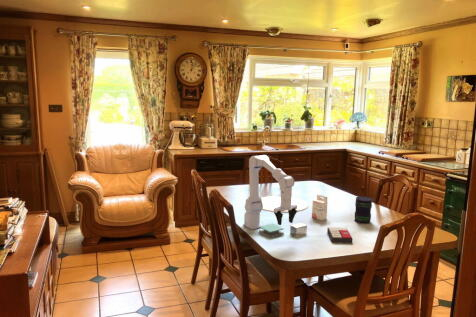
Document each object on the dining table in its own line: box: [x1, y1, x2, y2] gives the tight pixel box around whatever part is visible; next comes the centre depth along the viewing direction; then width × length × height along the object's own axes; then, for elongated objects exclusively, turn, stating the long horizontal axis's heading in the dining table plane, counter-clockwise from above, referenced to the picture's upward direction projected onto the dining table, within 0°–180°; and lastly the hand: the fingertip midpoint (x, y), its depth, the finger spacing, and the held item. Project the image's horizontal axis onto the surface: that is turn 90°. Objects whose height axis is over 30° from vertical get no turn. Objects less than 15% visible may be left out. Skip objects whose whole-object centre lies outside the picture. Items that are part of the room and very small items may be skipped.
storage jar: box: [353, 196, 373, 225], centre depth 244 cm, size 10×10×15 cm
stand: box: [258, 223, 285, 238], centre depth 221 cm, size 10×10×4 cm
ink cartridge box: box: [311, 194, 328, 221], centre depth 249 cm, size 9×5×15 cm, turn 44°
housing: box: [289, 222, 308, 237], centre depth 221 cm, size 5×10×5 cm, turn 124°
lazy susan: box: [260, 195, 309, 214], centre depth 280 cm, size 40×39×3 cm
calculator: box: [326, 226, 353, 244], centre depth 216 cm, size 11×4×15 cm
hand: (285, 223), depth 208 cm, fingers open, 7 cm apart
